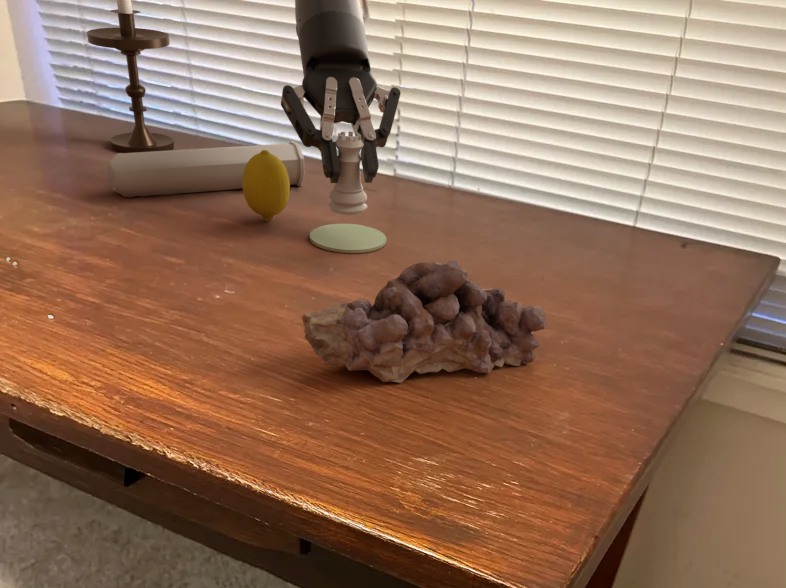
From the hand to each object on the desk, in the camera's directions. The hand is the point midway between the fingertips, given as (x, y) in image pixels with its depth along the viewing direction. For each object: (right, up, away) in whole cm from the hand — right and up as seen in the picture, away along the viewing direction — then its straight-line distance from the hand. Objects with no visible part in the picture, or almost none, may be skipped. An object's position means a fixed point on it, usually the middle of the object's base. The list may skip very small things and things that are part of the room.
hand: (352, 178), depth 90 cm
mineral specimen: (+7, -24, -18) cm, 31 cm away
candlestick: (-33, +19, +32) cm, 50 cm away
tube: (-20, +6, +18) cm, 27 cm away
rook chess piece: (-1, -2, +4) cm, 5 cm away
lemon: (-11, -1, +10) cm, 15 cm away
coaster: (-1, -4, +6) cm, 8 cm away
